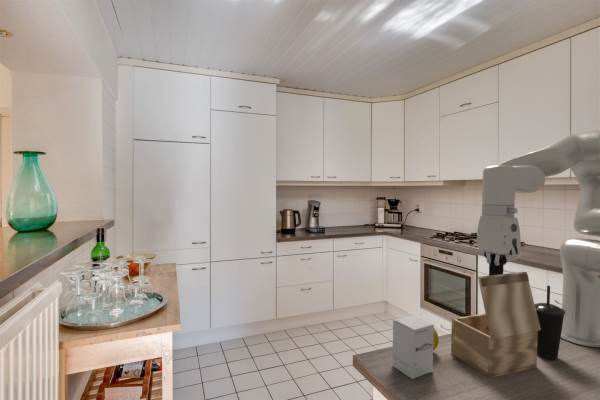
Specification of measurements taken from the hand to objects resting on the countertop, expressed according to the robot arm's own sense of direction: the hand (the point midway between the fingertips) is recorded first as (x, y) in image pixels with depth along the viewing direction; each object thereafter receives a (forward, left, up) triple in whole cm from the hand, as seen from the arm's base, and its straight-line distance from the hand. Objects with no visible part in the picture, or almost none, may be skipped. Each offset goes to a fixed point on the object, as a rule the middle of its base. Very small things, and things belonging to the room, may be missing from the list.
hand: (495, 278), depth 88 cm
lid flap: (0, +4, -5) cm, 7 cm away
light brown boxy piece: (0, -1, -23) cm, 23 cm away
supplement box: (+24, -4, -23) cm, 33 cm away
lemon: (+14, -10, -23) cm, 29 cm away
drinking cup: (-16, +3, -23) cm, 28 cm away
